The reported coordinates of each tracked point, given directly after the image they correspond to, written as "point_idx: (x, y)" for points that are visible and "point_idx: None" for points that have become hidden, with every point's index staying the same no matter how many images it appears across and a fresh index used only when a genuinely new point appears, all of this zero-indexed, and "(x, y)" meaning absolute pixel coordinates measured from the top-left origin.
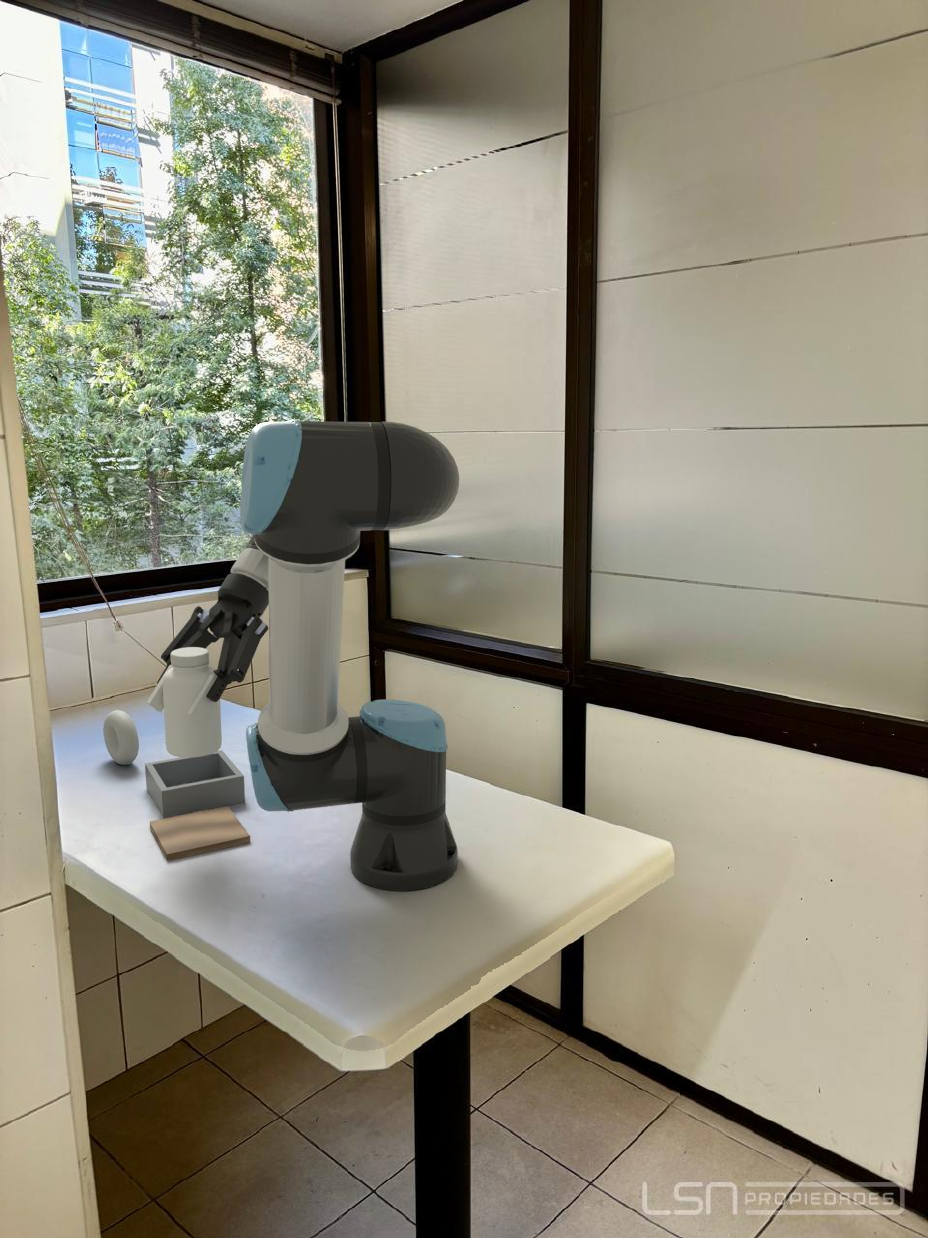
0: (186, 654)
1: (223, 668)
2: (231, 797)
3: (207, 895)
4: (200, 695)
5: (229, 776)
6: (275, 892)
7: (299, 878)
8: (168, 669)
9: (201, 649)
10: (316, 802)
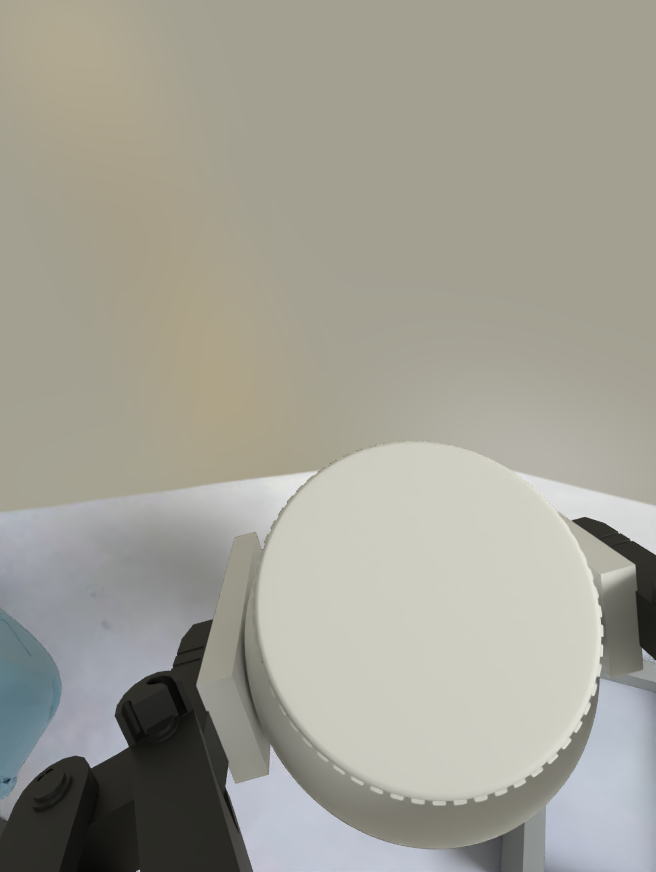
0: (346, 522)
1: (137, 765)
2: (507, 838)
3: (179, 555)
4: (230, 584)
5: (541, 866)
6: (96, 648)
7: (92, 716)
8: (597, 551)
9: (429, 732)
10: None
